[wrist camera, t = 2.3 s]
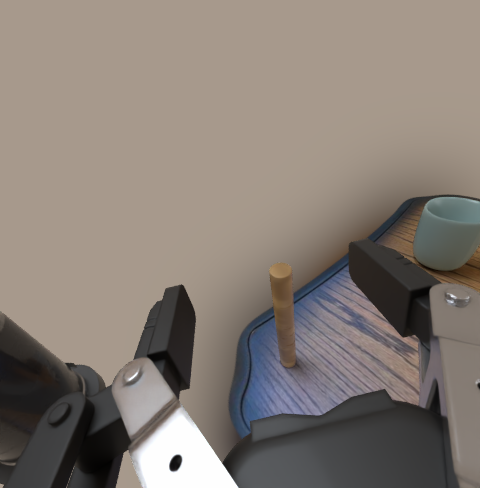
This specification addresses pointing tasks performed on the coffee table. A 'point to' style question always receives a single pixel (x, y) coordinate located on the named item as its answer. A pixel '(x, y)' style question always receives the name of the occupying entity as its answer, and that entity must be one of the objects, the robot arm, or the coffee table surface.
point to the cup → (447, 233)
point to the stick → (284, 311)
